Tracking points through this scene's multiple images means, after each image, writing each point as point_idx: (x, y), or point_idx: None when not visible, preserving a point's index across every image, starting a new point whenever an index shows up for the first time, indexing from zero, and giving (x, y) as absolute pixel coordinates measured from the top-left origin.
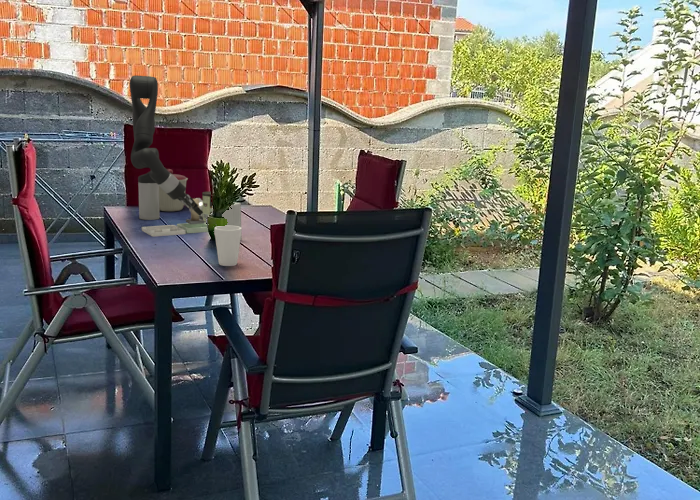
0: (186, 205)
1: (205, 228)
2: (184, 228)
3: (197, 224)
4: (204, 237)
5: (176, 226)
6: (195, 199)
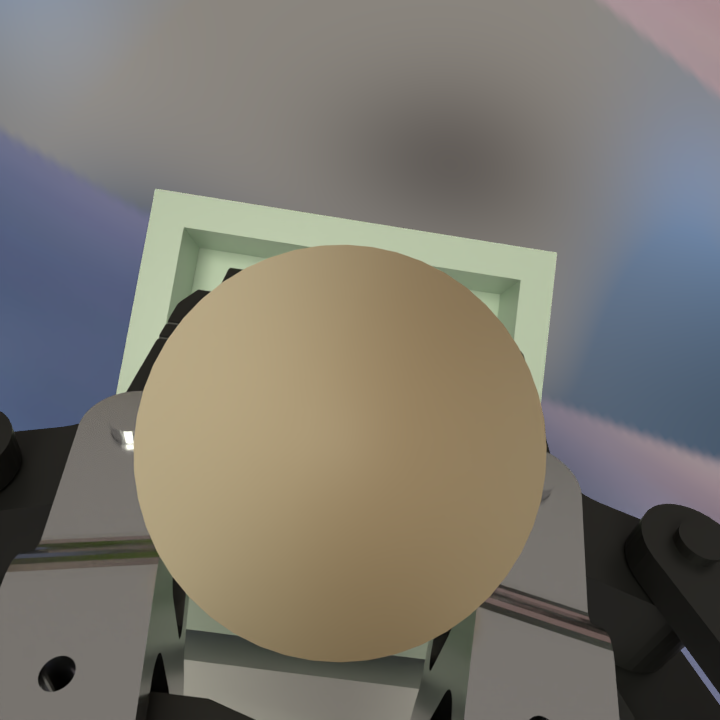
0: (180, 681)
1: (536, 375)
2: (409, 651)
3: (176, 297)
4: (668, 489)
5: (188, 672)
6: (389, 440)
